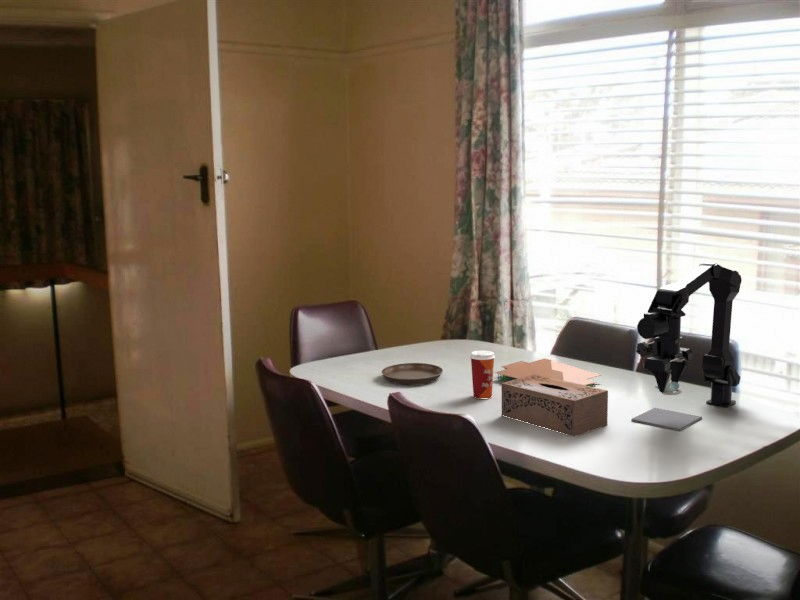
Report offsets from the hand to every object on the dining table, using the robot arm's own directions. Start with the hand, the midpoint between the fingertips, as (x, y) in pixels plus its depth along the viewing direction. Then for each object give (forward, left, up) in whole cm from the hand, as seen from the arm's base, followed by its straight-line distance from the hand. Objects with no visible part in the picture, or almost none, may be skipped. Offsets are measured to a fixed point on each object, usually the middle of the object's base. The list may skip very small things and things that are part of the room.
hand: (667, 389), depth 234 cm
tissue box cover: (+20, -24, -9) cm, 33 cm away
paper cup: (+13, -54, -9) cm, 56 cm away
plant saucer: (+10, -86, -9) cm, 87 cm away
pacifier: (0, +1, -1) cm, 1 cm away
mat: (0, 0, -9) cm, 9 cm away
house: (-14, -47, -10) cm, 50 cm away
